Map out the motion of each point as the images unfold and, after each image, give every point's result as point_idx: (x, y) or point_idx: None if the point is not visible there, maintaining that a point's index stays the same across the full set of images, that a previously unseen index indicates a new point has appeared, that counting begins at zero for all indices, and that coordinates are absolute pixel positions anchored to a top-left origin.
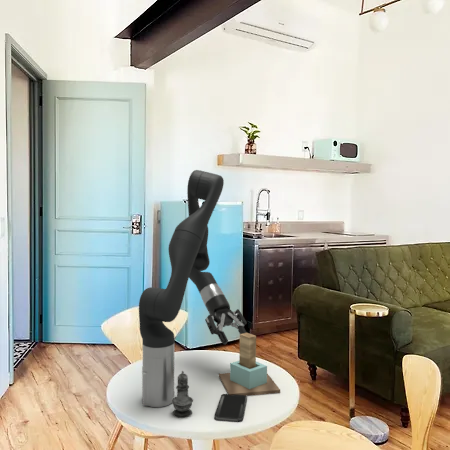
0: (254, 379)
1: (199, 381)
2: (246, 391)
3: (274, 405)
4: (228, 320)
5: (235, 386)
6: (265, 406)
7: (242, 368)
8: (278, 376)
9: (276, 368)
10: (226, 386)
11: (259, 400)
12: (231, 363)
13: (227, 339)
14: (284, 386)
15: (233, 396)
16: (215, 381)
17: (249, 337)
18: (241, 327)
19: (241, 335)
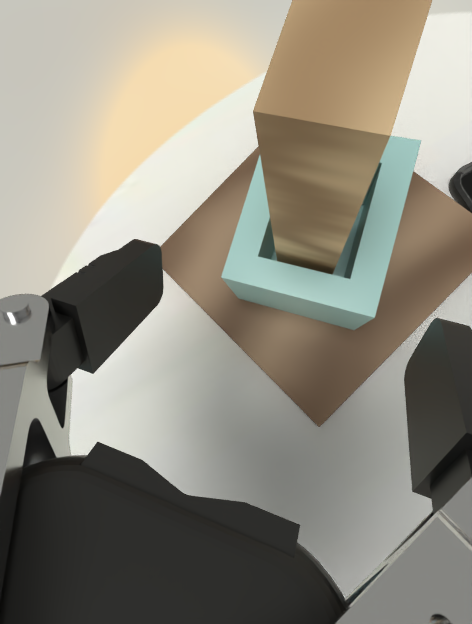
0: None
1: None
2: (421, 192)
3: (428, 63)
4: (141, 542)
5: (407, 263)
6: (462, 83)
7: (403, 203)
8: (158, 196)
9: (82, 246)
10: (437, 300)
11: (428, 129)
12: (373, 307)
13: (443, 325)
14: (238, 126)
15: None
16: (381, 405)
17: None
18: (81, 301)
19: (397, 107)
